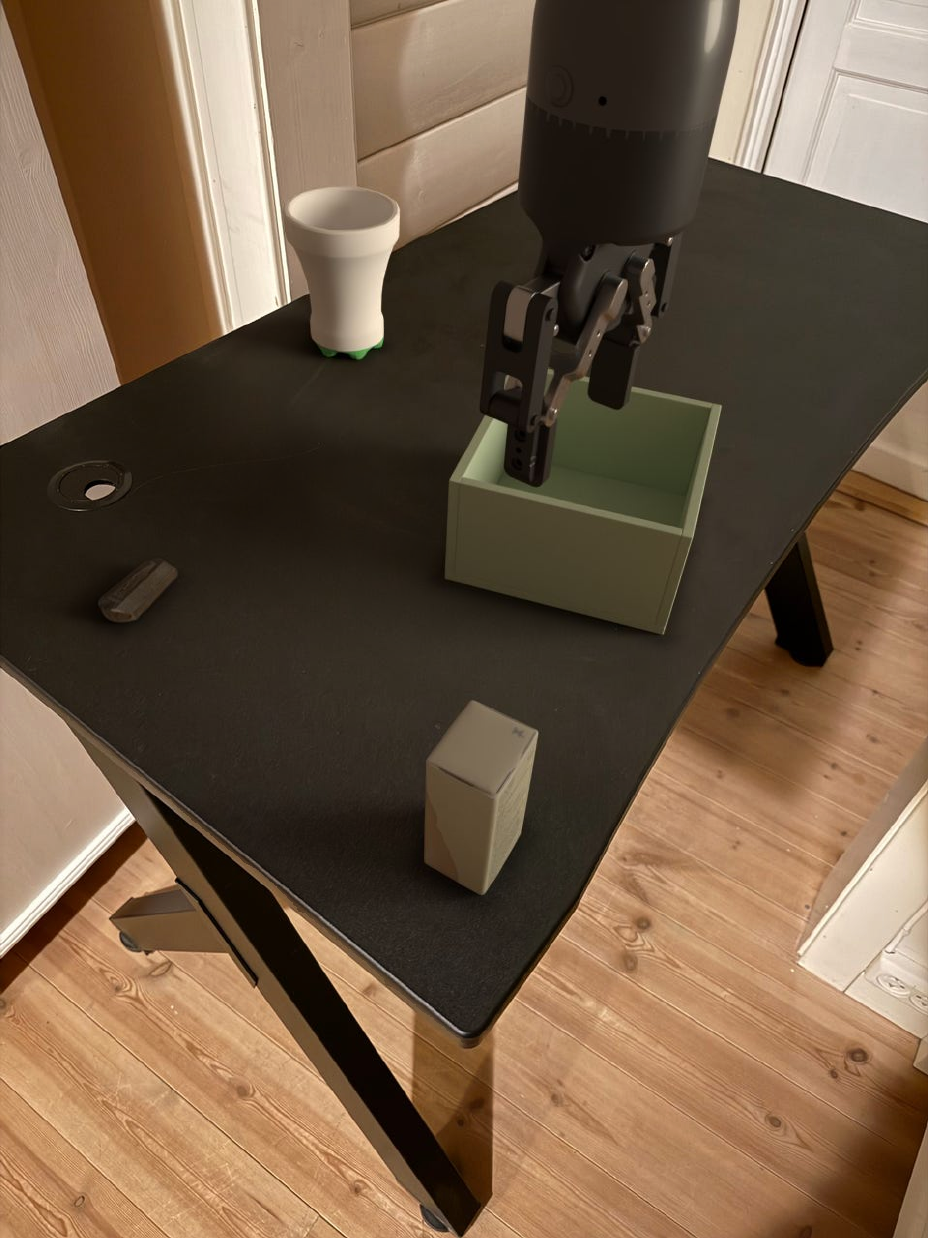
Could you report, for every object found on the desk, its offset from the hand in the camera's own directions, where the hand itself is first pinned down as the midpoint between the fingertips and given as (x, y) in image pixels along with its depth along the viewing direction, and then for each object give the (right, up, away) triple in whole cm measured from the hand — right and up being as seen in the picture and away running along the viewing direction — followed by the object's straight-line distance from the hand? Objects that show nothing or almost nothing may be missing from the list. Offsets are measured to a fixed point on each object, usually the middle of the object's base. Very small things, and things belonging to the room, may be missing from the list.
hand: (568, 438), depth 47 cm
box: (-5, -24, +9) cm, 26 cm away
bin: (+4, -2, +30) cm, 30 cm away
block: (-30, -8, +22) cm, 38 cm away
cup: (-18, +20, +50) cm, 57 cm away
